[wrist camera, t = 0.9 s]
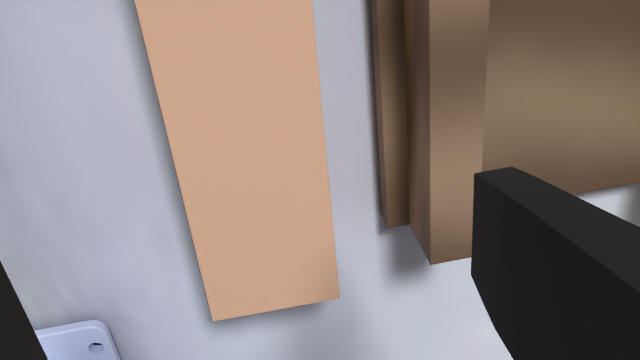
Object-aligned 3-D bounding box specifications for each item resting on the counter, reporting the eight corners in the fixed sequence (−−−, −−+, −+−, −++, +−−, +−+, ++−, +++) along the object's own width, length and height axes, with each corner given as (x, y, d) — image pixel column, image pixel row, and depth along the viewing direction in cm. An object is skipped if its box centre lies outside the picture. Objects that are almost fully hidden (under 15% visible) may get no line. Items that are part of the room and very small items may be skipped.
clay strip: (323, 242, 22) (339, 298, 19) (211, 261, 21) (212, 321, 19) (273, -228, 14) (289, -238, 12) (103, -212, 14) (80, -219, 12)
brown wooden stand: (702, 157, 22) (767, 201, 20) (381, 214, 21) (406, 269, 18) (806, -241, 16) (923, -254, 13) (359, -190, 15) (392, -192, 12)
